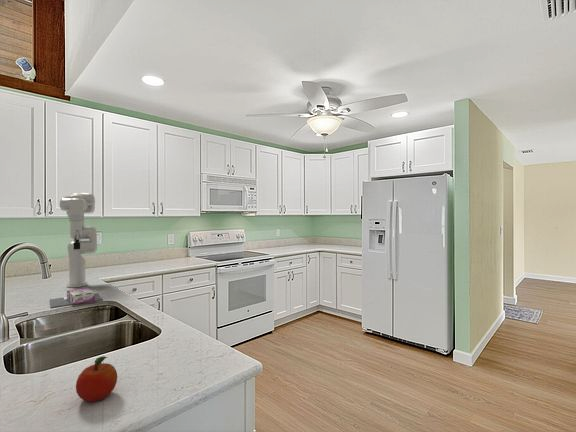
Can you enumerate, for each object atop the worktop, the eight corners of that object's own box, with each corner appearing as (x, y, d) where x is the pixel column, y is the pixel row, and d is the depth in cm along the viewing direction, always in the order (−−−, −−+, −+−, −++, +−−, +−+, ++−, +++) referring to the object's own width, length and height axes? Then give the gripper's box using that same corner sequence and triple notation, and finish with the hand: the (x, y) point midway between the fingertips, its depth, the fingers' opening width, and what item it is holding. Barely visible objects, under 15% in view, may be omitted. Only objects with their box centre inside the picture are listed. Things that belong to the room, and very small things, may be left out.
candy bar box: (66, 299, 179) (71, 304, 167) (66, 290, 179) (71, 295, 167) (88, 295, 186) (95, 300, 175) (88, 287, 186) (95, 292, 175)
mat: (49, 300, 179) (49, 298, 179) (97, 293, 194) (97, 292, 194) (50, 308, 163) (50, 306, 163) (102, 300, 178) (102, 299, 178)
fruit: (65, 406, 78) (65, 367, 78) (95, 385, 88) (95, 351, 88) (98, 410, 77) (98, 370, 77) (125, 388, 86) (124, 353, 86)
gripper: (68, 219, 188) (68, 248, 188) (70, 219, 177) (70, 250, 177) (82, 218, 193) (83, 247, 193) (85, 219, 182) (85, 249, 181)
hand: (76, 249), depth 185 cm, fingers closed
